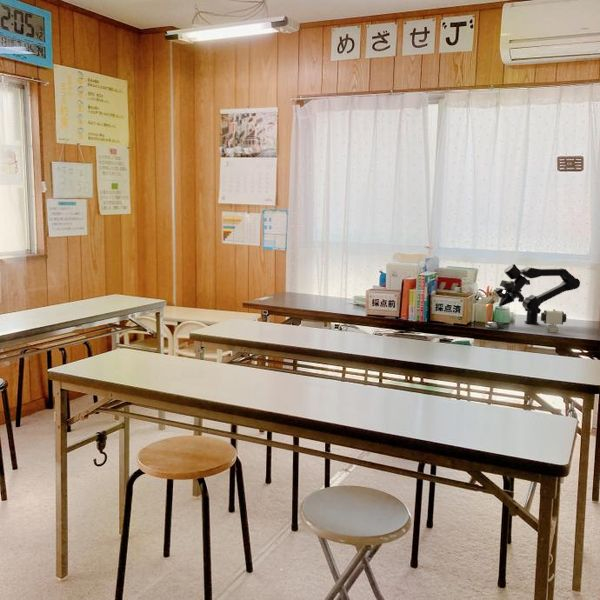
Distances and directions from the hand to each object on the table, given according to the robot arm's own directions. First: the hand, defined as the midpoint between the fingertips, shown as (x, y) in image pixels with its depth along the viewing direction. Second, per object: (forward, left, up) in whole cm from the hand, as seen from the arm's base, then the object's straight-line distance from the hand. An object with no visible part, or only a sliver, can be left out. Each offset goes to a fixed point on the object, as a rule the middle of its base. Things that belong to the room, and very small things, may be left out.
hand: (499, 306), depth 338 cm
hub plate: (+11, -5, -10) cm, 16 cm away
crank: (+8, -5, -10) cm, 14 cm away
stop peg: (+11, -1, -10) cm, 15 cm away
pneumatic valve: (+16, +24, -10) cm, 31 cm away
